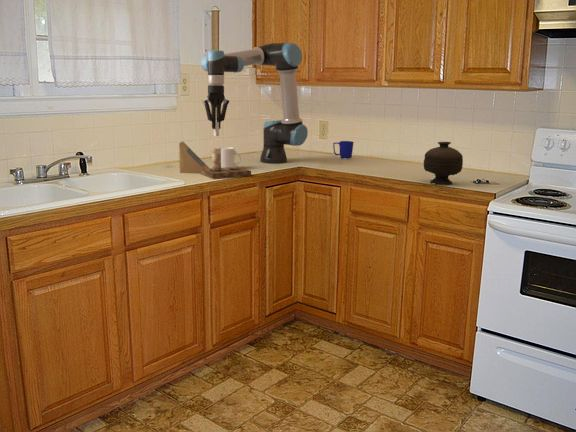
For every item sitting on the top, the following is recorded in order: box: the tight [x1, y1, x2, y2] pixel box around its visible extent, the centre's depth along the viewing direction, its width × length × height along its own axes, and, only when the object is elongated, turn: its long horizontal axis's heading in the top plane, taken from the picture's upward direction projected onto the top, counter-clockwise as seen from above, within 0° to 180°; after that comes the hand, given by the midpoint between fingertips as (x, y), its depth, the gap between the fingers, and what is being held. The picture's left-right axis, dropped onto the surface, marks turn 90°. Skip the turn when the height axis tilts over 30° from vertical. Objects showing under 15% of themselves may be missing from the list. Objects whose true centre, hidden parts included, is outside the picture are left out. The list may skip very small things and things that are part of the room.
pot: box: [423, 141, 464, 185], centre depth 268 cm, size 18×18×20 cm
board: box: [200, 166, 252, 180], centre depth 278 cm, size 20×14×2 cm
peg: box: [211, 147, 221, 172], centre depth 275 cm, size 4×4×13 cm
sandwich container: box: [178, 140, 211, 174], centre depth 284 cm, size 9×15×15 cm, turn 89°
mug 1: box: [218, 146, 242, 168], centre depth 297 cm, size 9×12×11 cm
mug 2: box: [332, 140, 354, 159], centre depth 345 cm, size 8×12×10 cm
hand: (216, 135), depth 272 cm, fingers closed
